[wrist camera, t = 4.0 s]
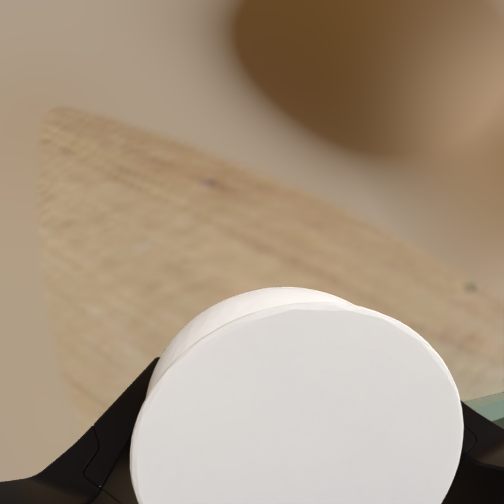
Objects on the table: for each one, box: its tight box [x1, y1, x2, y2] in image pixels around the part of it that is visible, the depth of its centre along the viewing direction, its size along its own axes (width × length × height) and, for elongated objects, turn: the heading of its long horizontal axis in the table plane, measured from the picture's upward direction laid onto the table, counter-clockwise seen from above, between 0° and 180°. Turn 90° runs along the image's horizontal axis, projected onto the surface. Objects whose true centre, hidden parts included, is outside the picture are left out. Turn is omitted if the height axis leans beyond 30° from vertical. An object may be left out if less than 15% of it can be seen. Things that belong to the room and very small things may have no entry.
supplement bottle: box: [130, 287, 464, 504], centre depth 9 cm, size 7×7×13 cm
